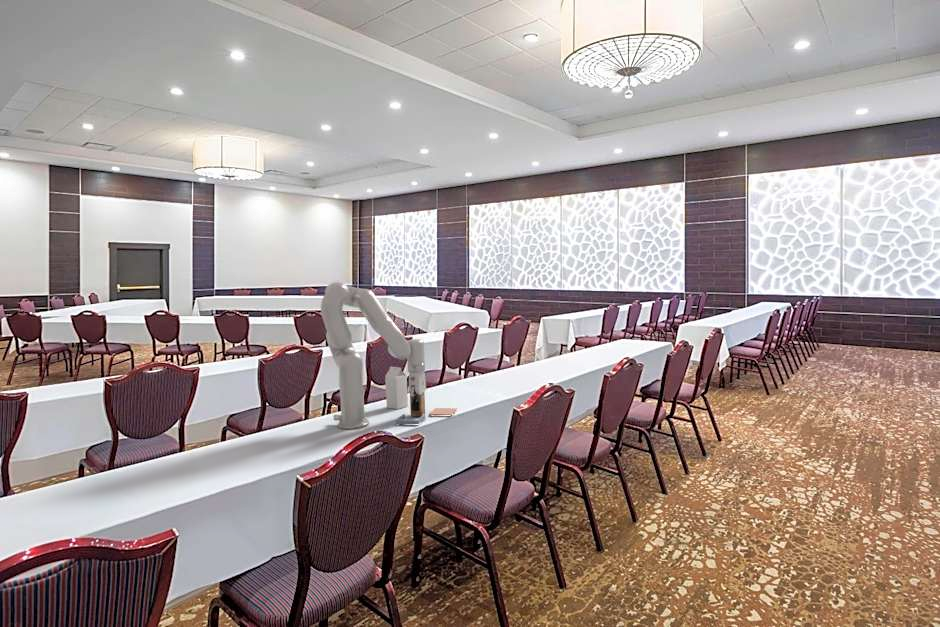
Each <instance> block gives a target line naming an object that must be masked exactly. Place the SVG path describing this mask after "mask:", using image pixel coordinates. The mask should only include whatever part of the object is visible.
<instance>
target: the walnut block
mask: <svg viewBox="0 0 940 627" xmlns="http://www.w3.org/2000/svg"><path fill="white" fill-rule="evenodd" d="M414 394H417V393H414ZM415 397H416V396H415ZM425 400H426V396H425V392H423V393H422V394H421V395H418V401H419V411H413V410H412V401H411V397H410V396H409V404H410V405H409V406H410V407H409V408H410V410H409V411H410V417H416V416H422V415H423V414H424V415H426V402H425Z"/></svg>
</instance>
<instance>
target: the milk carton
mask: <svg viewBox="0 0 940 627" xmlns="http://www.w3.org/2000/svg"><path fill="white" fill-rule="evenodd" d="M384 379H385V380H384V381H385V383H384V384H385V397H386V398H385V399H386V402H385V403H386V408H387V409H391V410H400V409H403V408H406V407H409V402H408V401H409V400H408V397H409V396H408V380H407V379H408V378H407V374H406V373H405V372H404V371H402V367H397V366H389V370H388V371H387V373H386V374H385V375H384Z"/></svg>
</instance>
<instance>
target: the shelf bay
mask: <svg viewBox="0 0 940 627" xmlns="http://www.w3.org/2000/svg"><path fill="white" fill-rule="evenodd" d="M405 418H406V414H401V416H398V417H397V418H396V419H395V425H396V424H419V423H420V422H422V421H423V420H424V419H425V420H426V414H424V415H422V416H421V417H419V418H418V419H405ZM404 419H405V420H404ZM425 420H424V421H425ZM424 421H423V422H424ZM423 422H422V423H423Z"/></svg>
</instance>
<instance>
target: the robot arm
mask: <svg viewBox="0 0 940 627" xmlns="http://www.w3.org/2000/svg"><path fill="white" fill-rule="evenodd" d="M344 306H348V307H353V308H358V309H359V311H360V312H361V313H362V315H363V316H364V317H365V319H366V321H367V322H368V324H369V325H370V326H371V328H372V330H373V331H375V333H377V334H378V335H379V336H380V337H381V338H382V339H383V340H384V341H385V343H386V344H387V352H388V353H389V355H390V356H392V357H393V358H395V359H398V360H401V361H402V360H406V359H407V360H406V361H407V362H406V363H407V373H408V391H409V392H408V393H409V398H410V397H411V401H412V410H413V411H419V401H418V395H421V394H422V393H423V392H424V393H425V392H426V391H427V381H426V374H425V372H426V368H425V366H426V364H425V363H426V362H425V361H426V360H425V342H424V340H423V339H419V338H418V339H409V340H407V339H406V338H405V335H404V334H403V333H402V332H401V330H400V329H399V327H397V325H396V324H395V322H394V321H393V319H391V317H390V316H389V314H388V312H387V311H386V310H385V308H384V307H383V305H382V304H381V302H380V301H379V299H378V298H377V296H376V295H375V293H374V292H373V291H372V290H370V289H368V288H360V287H355V286H351V285H347V284H345V283H343V282H338V281H337V282H336V281H335V282H331V283H329V284H328V285H327V286H326V287H325V290H324V296H323V298H322V300H321V304H320V313H321V318H322V321H323V323H324V327H325V329H326V334H325V338H326V342H327V345H328V348H329V350H330V353H331V356H332V358H333V361H334V362H335V365H336V366H337V368H338V370H339V371H338V373H339V376H338V378H339V379H338V383H339V396H340V412H341V413H340V414H334V415H333V420H334V421H338V423H337V427H338V428H340V429H343V430H354V429H355V430H356V429H360V428H364V427H367V426H369V424H370V421H369V419H367V418H366V414H365V399H364V394H365V393H364V382H363V379H364V376H363V373H364V372H363V370H364V363H363V358H362V356H361V354H359V352H357V351H356V350H355V347H354V345H353V343H352V341H353V336H352V333H351V331H350V328H349V325H348V323H347V320H346V317H345V314H344V310H343V307H344ZM414 393H417V394H414ZM415 396H416V397H415Z"/></svg>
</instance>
